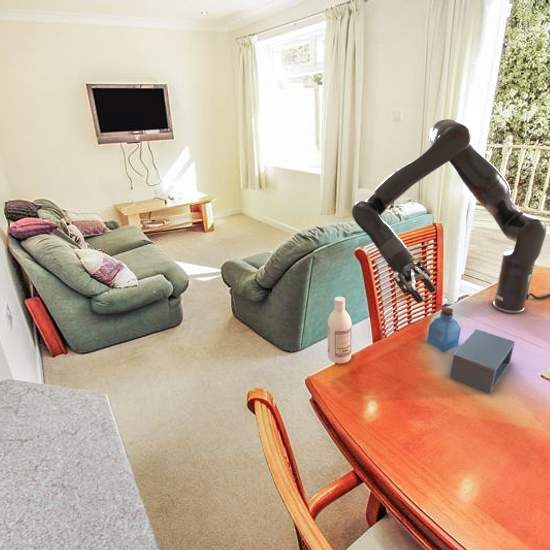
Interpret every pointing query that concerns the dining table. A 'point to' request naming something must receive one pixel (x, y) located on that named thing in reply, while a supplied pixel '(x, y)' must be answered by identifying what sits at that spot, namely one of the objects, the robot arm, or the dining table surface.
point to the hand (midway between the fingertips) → (427, 296)
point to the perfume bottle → (444, 331)
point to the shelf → (482, 360)
